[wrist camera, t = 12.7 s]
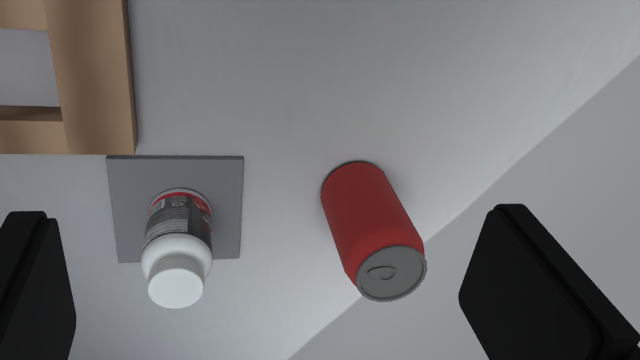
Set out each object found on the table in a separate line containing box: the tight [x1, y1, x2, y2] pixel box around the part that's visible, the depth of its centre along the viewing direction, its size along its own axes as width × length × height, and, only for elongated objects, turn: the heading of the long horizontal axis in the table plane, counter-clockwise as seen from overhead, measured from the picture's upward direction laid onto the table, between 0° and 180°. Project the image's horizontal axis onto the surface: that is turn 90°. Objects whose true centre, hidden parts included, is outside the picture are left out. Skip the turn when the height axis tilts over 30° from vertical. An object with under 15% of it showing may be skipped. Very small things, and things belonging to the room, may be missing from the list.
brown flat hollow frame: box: [0, 0, 138, 155], centre depth 35 cm, size 16×12×2 cm
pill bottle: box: [141, 188, 213, 309], centre depth 41 cm, size 5×5×10 cm
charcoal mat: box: [106, 156, 243, 263], centre depth 45 cm, size 11×11×1 cm
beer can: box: [321, 162, 427, 302], centre depth 43 cm, size 7×7×12 cm
